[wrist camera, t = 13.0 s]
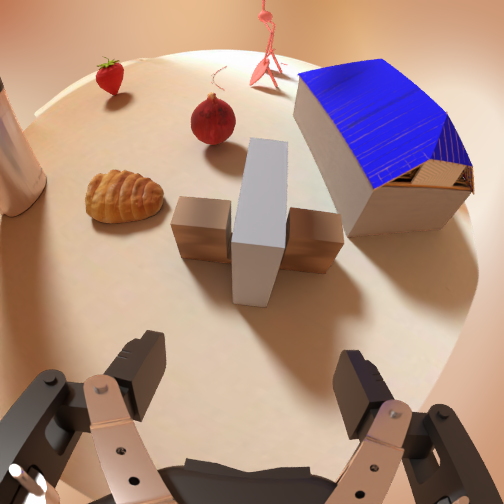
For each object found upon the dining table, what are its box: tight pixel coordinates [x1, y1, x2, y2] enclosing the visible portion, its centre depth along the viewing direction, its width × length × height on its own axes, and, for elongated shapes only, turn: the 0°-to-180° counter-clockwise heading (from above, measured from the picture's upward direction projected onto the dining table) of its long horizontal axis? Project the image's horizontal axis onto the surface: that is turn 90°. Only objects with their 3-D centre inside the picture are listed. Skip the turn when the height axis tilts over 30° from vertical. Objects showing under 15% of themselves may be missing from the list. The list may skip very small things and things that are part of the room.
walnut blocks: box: [171, 196, 344, 274], centre depth 24 cm, size 14×3×6 cm, turn 85°
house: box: [293, 59, 474, 237], centre depth 29 cm, size 25×16×16 cm, turn 8°
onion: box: [191, 92, 236, 145], centre depth 32 cm, size 6×6×8 cm
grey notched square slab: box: [231, 138, 288, 307], centre depth 22 cm, size 10×3×10 cm, turn 174°
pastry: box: [85, 170, 164, 224], centre depth 28 cm, size 9×7×4 cm
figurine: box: [211, 0, 287, 90], centre depth 34 cm, size 15×26×35 cm, turn 169°
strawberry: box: [96, 57, 124, 95], centre depth 40 cm, size 6×8×10 cm
